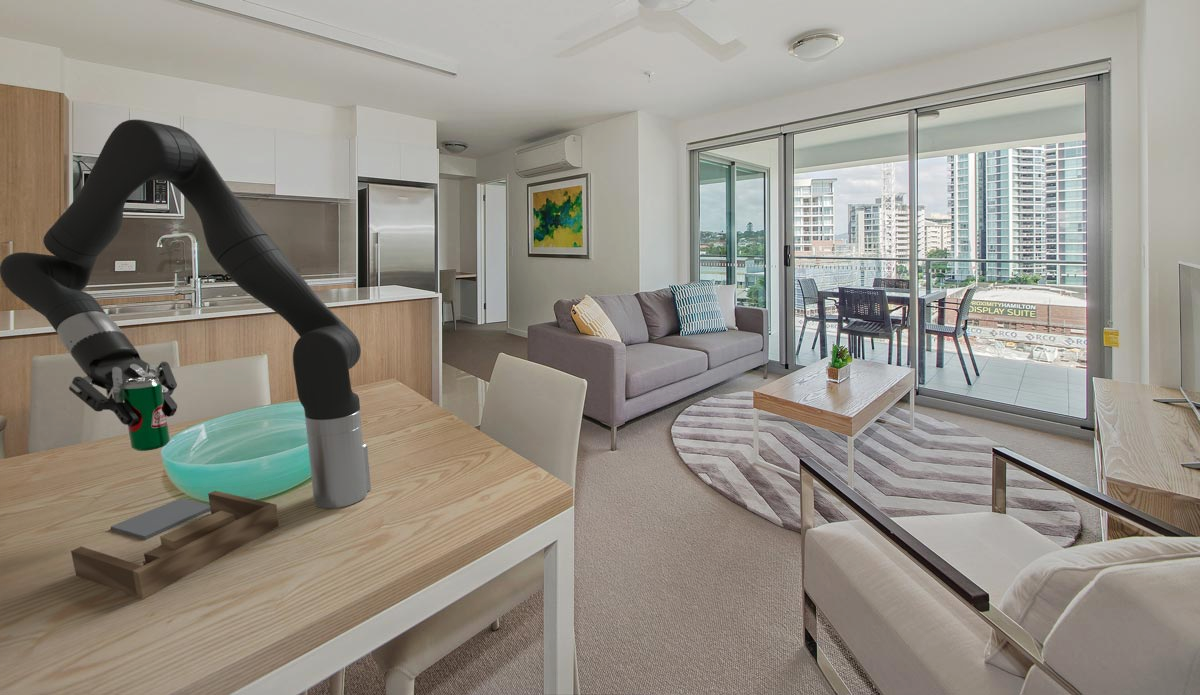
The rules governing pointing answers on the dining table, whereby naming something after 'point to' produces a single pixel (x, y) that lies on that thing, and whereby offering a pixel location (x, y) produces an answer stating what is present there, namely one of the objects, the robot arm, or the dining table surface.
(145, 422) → the soda can
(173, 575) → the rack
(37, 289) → the robot arm
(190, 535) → the offcut stack
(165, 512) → the mat
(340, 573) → the dining table surface
